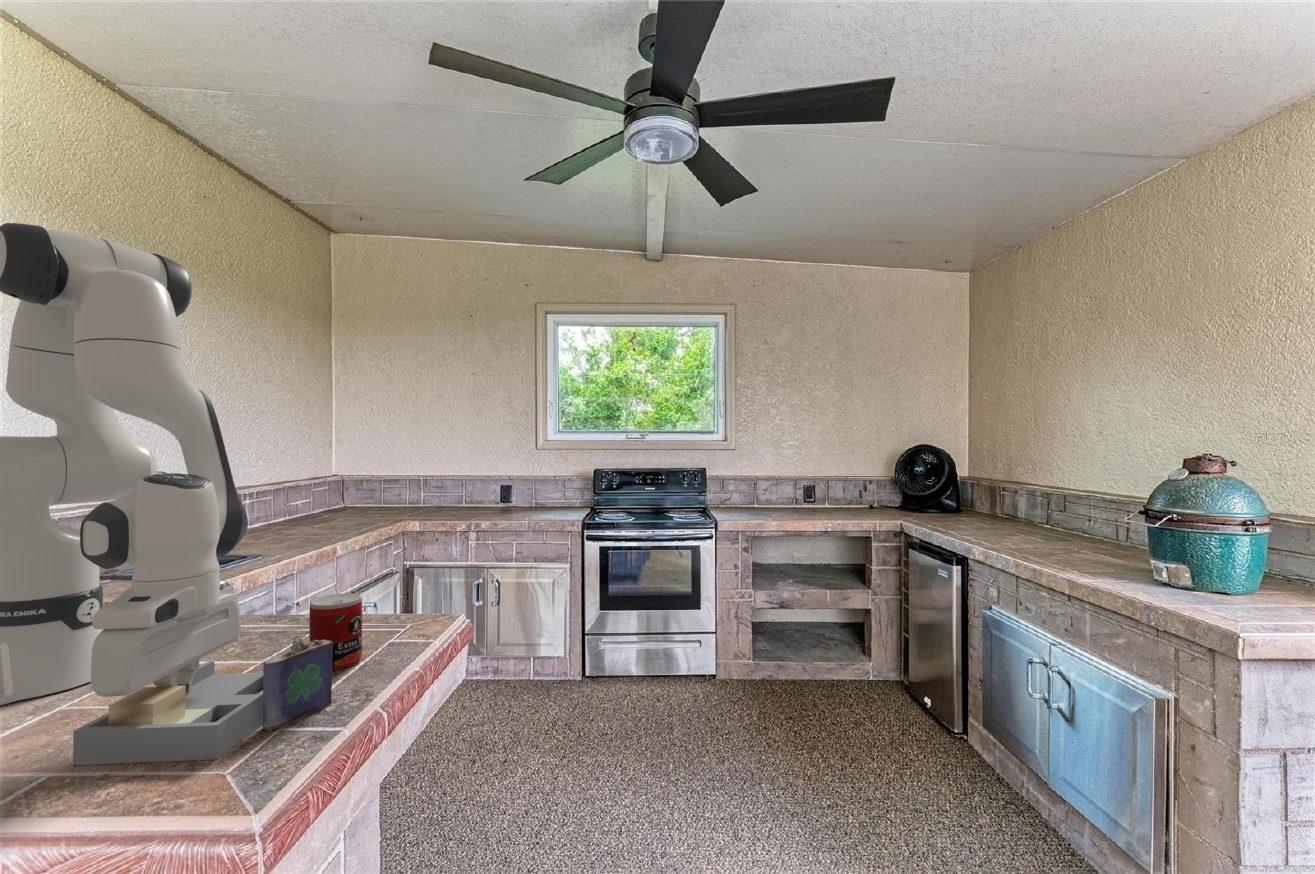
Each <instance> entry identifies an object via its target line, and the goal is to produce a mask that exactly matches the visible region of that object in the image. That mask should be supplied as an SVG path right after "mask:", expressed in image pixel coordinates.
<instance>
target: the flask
mask: <svg viewBox="0 0 1315 874" xmlns="http://www.w3.org/2000/svg"><path fill="white" fill-rule="evenodd" d="M303 640H304V639H303V638H302V636H300V635H297V636H294V637H292V638H291V639H288V641H289V642H291V641H292V645H291V646H290V649H291V650H288V651H286V652H285V651H284V652H283V653H280V654H277V655H275V656H272V657H270V658H268V659H266V660H265V661H264V662H263V663H262V665H263V667H262V669H263V671H262V672H263V673H264V677H263V724H262V725H261V727H262V729H263V731H264V732H266V731H267V732H270V733H271V732H272V731H273V730H279V729H282V728H284V727H285V728H286V726H287V725H290V724H292V723H295V722H297V721H299V720H302V719H303V718H306V717H307V715H309V714H314V713H315V712H316V711H320V710H322V709H324V708H326V707H330V705H331V704H332V703H333V702H332V693H333V692H332V689H333V688H332V687H333V686H332V685H333V684H332V681H333V671H332V656H333V652H332V649H333V642H332V641H328V640H321V641H319V640H315V641H313V642H310V641H309V642H307V643H306V642H304V641H303ZM314 642H315V643H314Z"/></svg>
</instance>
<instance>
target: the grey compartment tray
mask: <svg viewBox="0 0 1315 874" xmlns="http://www.w3.org/2000/svg"><path fill="white" fill-rule="evenodd" d="M263 677H264V673H263V671H262V672H261V671H260V672H259V671H256V672H233V673H232V672H231V673H215V660H208V661H207V662H204V663H203V664H199V668H198V670H197V672H196V675H195V677H194V679H193V682H192V693H191V694H190V695H189V696H187V697H185V717H184V718H182V719H181V720H179V721H178V722H176V723H174V724H155V725H130V726H109V712H108V713H105V714H104V715H101V716H99V717H98V718H95V719H93V720H92V721H90V722H88V723H86V724H84V725H82V726H80V727H78V728H76V729H74V730H73V733H72V734H73V735H72V737H73V739H72V740H73V742H72V743H73V745H72V747H73V748H72V765H73V767H75V766H74V765H76V767H77V766H93V765H94V766H95V765H97V766H98V765H117V764H118V763H119V764H118V765H120V763H123V764H139V762H140V764H142V763H141V762H146V763H161V762H163V763H164V762H167V763H168V762H184V761H185V762H186V761H187V762H189V761H209V760H211V761H212V760H219V758H221V757H222V756H224V755H225V754H227V753H228V752H229V751H230V750H231V749H233V748H234V747H235V746H236V745H238V744H239V743H241V741H243V740H245V739H246V738H247V737H248V736H250V735H251V734H253V732H255V731H256V730H257V729H260V727H262V724H263ZM175 680H176V678H175ZM133 762H135V763H133ZM136 762H137V763H136Z"/></svg>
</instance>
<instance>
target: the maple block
mask: <svg viewBox="0 0 1315 874" xmlns="http://www.w3.org/2000/svg"><path fill="white" fill-rule="evenodd" d="M108 713H109V726H130V725H155V724H174V723H176V722H178V721H179V720H181V719H182V718H184V717H185V686H169V687H156V686H145V687H143V688H141V689H139V690H137V691H135V692H133V693H131V694H129V695H125V696H123V697H122V698H121V699H119V700H117V701H115V702H113V703H110V704H109V705H108Z"/></svg>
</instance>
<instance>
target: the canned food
mask: <svg viewBox="0 0 1315 874" xmlns="http://www.w3.org/2000/svg"><path fill="white" fill-rule="evenodd" d="M308 615H309V616H308V617H309V643H310V642H313V641H315V640H319V641H321V640H328V641H332V642H333V649H332V652H333V656H332V672H337V670H338V671H343V670H345V669H349V668H351V666H352V667H353V665H354V666H356V665H357V664H358V663H360V661H361V659H362V655H363V654H362V653H363V650H362V649H363V647H362V646H363V599H362V595H361V594H358V593H346V592H345V593H335V594H334V593H333V594H328V595H323V596H319V597H317V598H314V599H312V600H311V601H310V602H309V614H308ZM314 643H315V642H314ZM355 664H356V665H355ZM348 667H349V668H348Z"/></svg>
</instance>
